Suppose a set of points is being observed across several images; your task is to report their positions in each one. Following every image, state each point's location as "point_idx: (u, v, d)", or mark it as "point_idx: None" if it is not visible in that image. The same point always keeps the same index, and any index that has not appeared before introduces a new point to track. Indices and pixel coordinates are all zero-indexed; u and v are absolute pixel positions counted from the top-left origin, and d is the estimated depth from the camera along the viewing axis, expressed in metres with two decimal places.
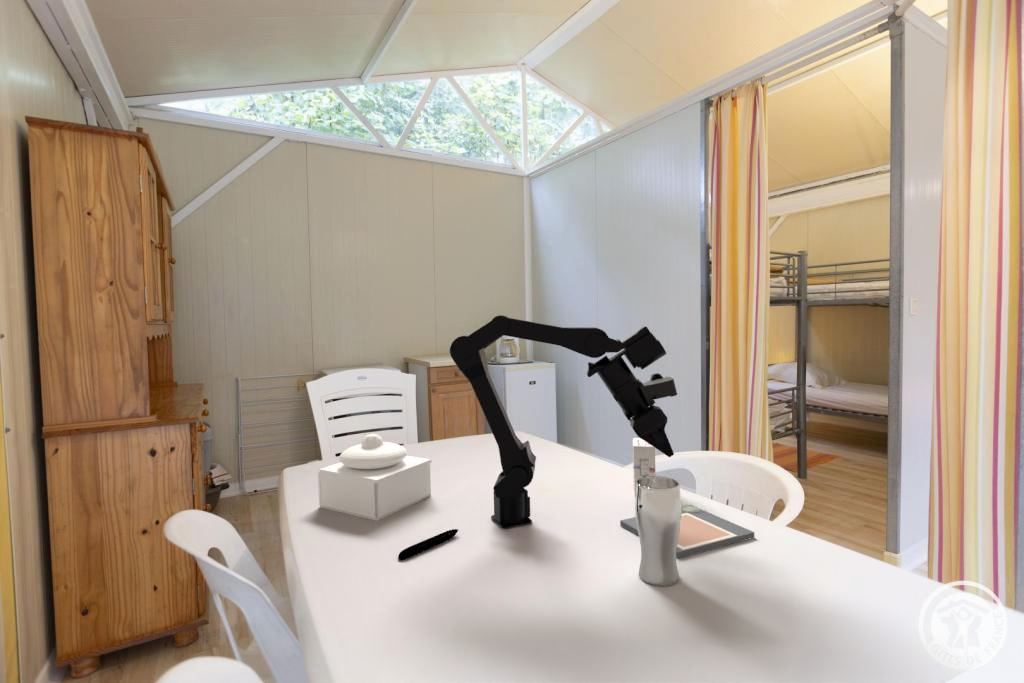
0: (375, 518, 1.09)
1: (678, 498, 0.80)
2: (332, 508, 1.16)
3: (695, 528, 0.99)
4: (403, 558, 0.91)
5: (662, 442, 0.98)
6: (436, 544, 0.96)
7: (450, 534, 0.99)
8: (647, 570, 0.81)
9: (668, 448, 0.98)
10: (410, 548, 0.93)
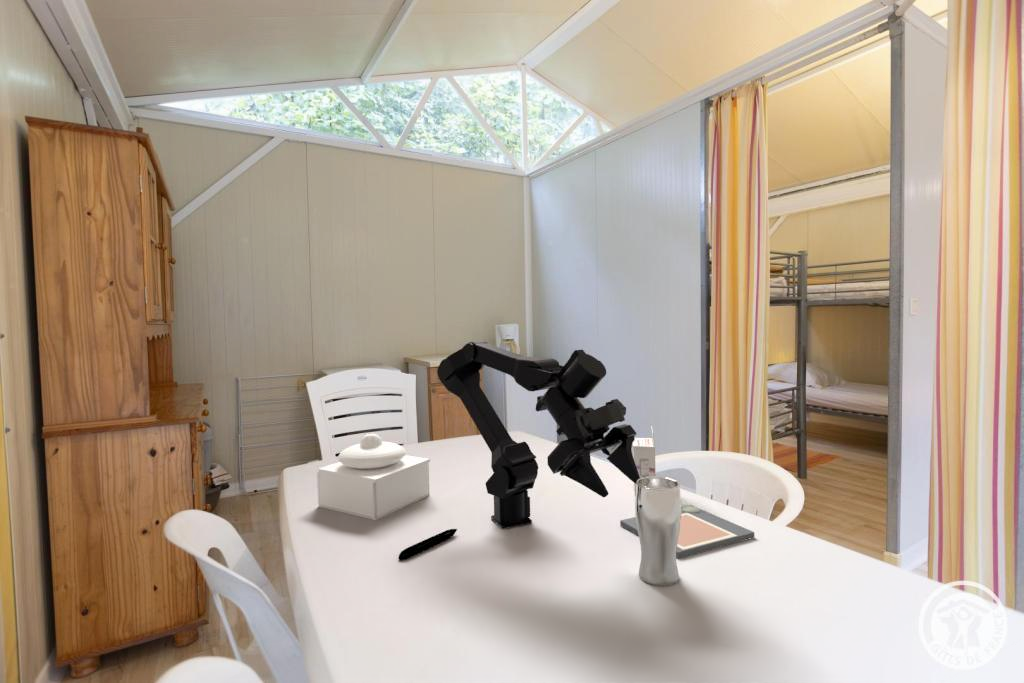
0: (374, 517, 1.10)
1: (678, 498, 0.80)
2: (331, 507, 1.16)
3: (695, 528, 0.99)
4: (403, 558, 0.91)
5: (589, 480, 0.85)
6: (436, 544, 0.96)
7: (449, 534, 0.99)
8: (647, 570, 0.81)
9: (598, 487, 0.84)
10: (410, 548, 0.93)
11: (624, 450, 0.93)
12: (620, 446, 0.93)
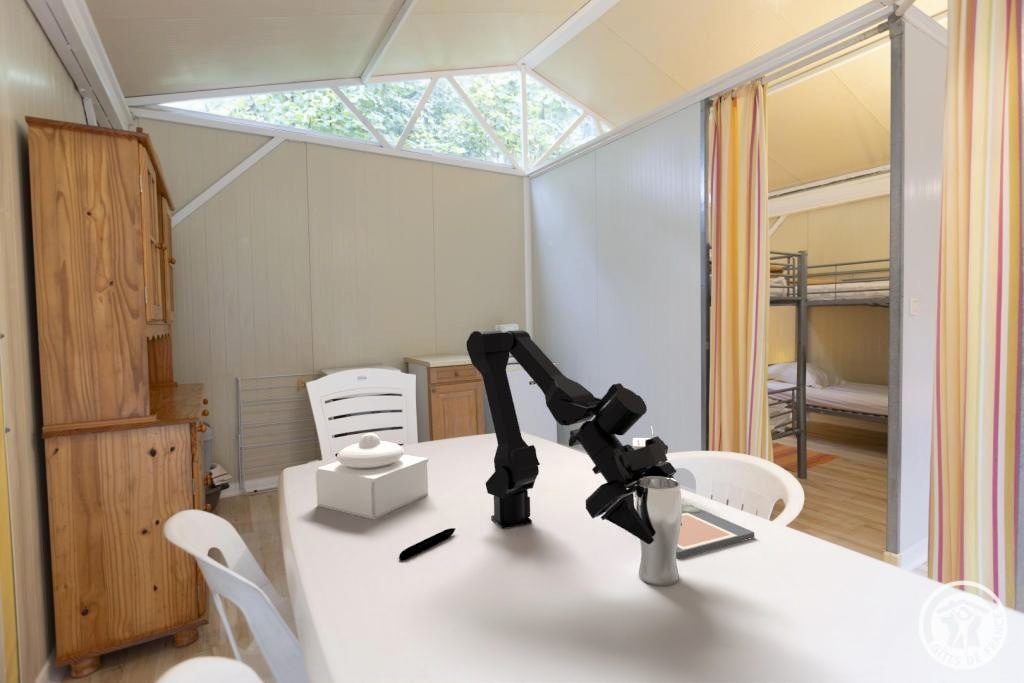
0: (372, 516, 1.10)
1: (678, 498, 0.80)
2: (330, 507, 1.17)
3: (695, 528, 0.99)
4: (404, 558, 0.91)
5: (633, 525, 0.80)
6: (435, 543, 0.97)
7: (448, 533, 0.99)
8: (647, 570, 0.81)
9: (643, 533, 0.79)
10: (410, 548, 0.93)
11: None
12: None
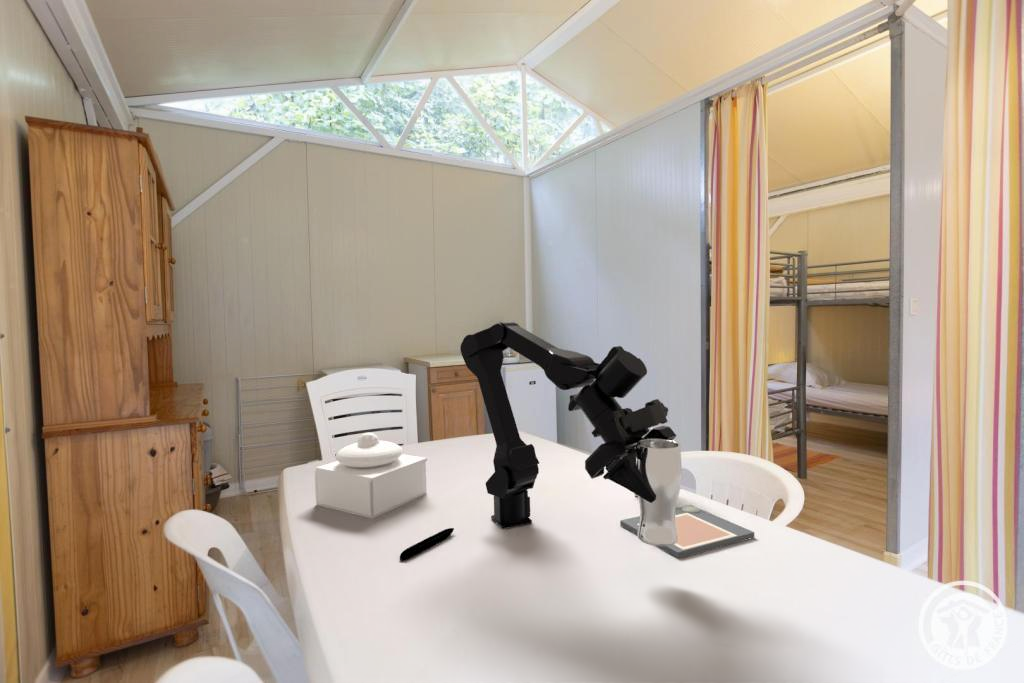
0: (370, 516, 1.11)
1: (678, 458, 0.80)
2: (328, 506, 1.17)
3: (695, 528, 0.99)
4: (405, 558, 0.91)
5: (635, 484, 0.80)
6: (435, 543, 0.97)
7: (447, 533, 0.99)
8: (646, 530, 0.81)
9: (645, 491, 0.80)
10: (411, 548, 0.93)
11: None
12: None
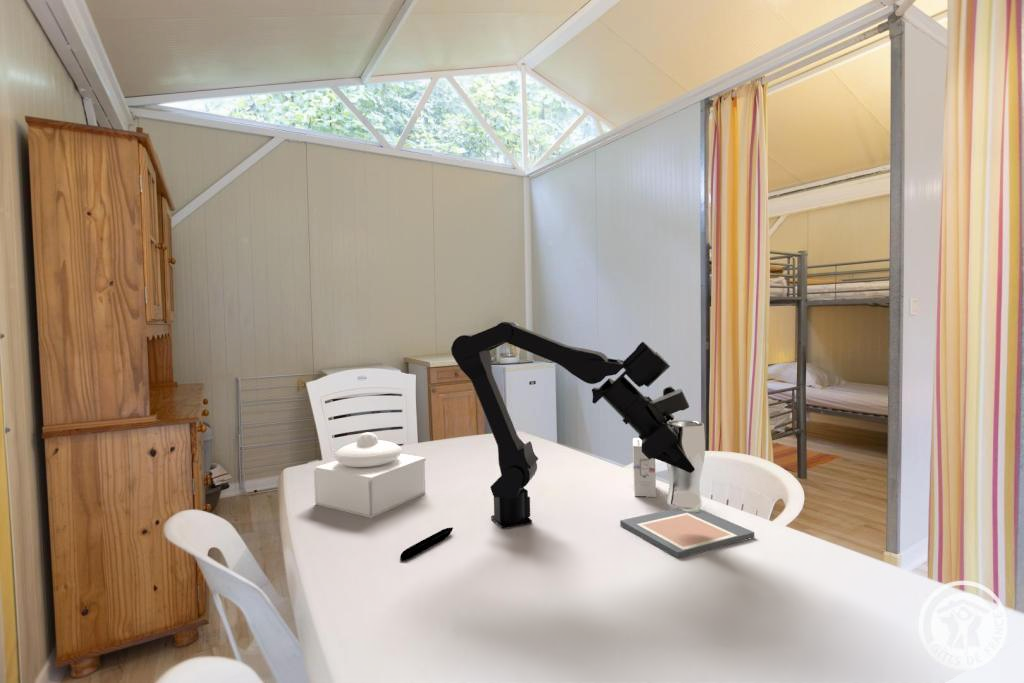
0: (369, 515, 1.11)
1: None
2: (328, 505, 1.18)
3: (695, 528, 0.99)
4: (405, 558, 0.91)
5: (679, 459, 0.93)
6: (434, 543, 0.97)
7: (446, 532, 1.00)
8: (683, 498, 0.95)
9: (687, 464, 0.94)
10: (411, 548, 0.92)
11: None
12: None
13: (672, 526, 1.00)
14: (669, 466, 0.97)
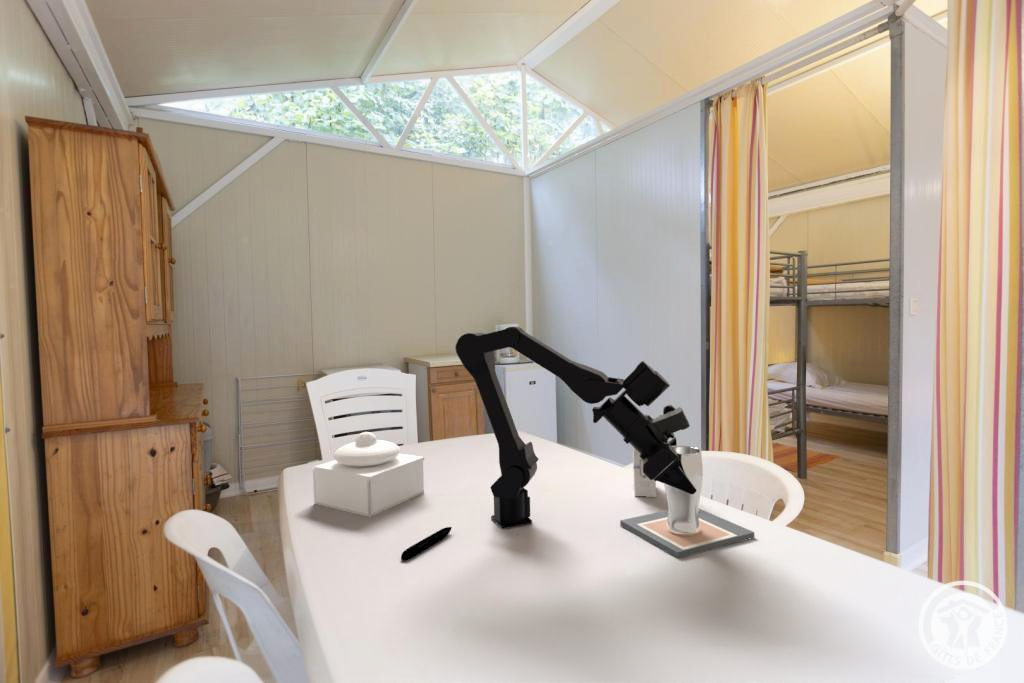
0: (368, 514, 1.12)
1: None
2: (326, 504, 1.18)
3: None
4: (406, 558, 0.91)
5: (680, 480, 0.93)
6: (434, 542, 0.97)
7: (445, 532, 1.00)
8: (681, 525, 0.96)
9: (688, 485, 0.93)
10: (412, 548, 0.92)
11: None
12: None
13: None
14: (667, 493, 0.97)
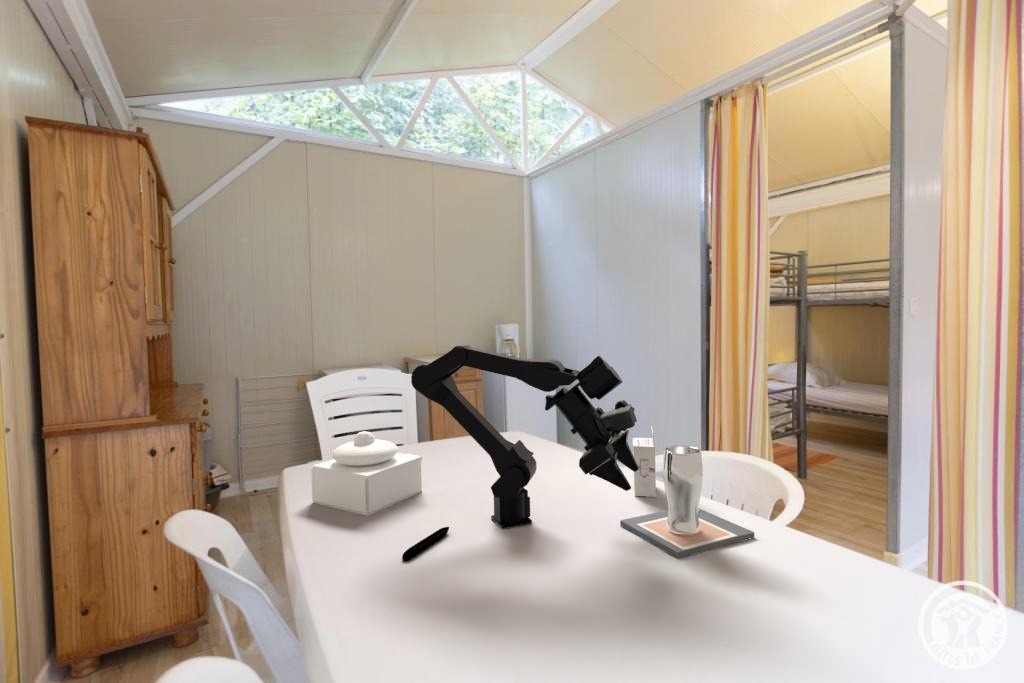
0: (366, 513, 1.12)
1: None
2: (325, 503, 1.19)
3: None
4: (408, 559, 0.91)
5: (616, 477, 0.96)
6: (433, 542, 0.97)
7: (444, 532, 1.00)
8: (681, 525, 0.96)
9: (623, 482, 0.96)
10: (412, 548, 0.92)
11: (624, 443, 1.06)
12: (619, 439, 1.06)
13: None
14: (667, 493, 0.97)
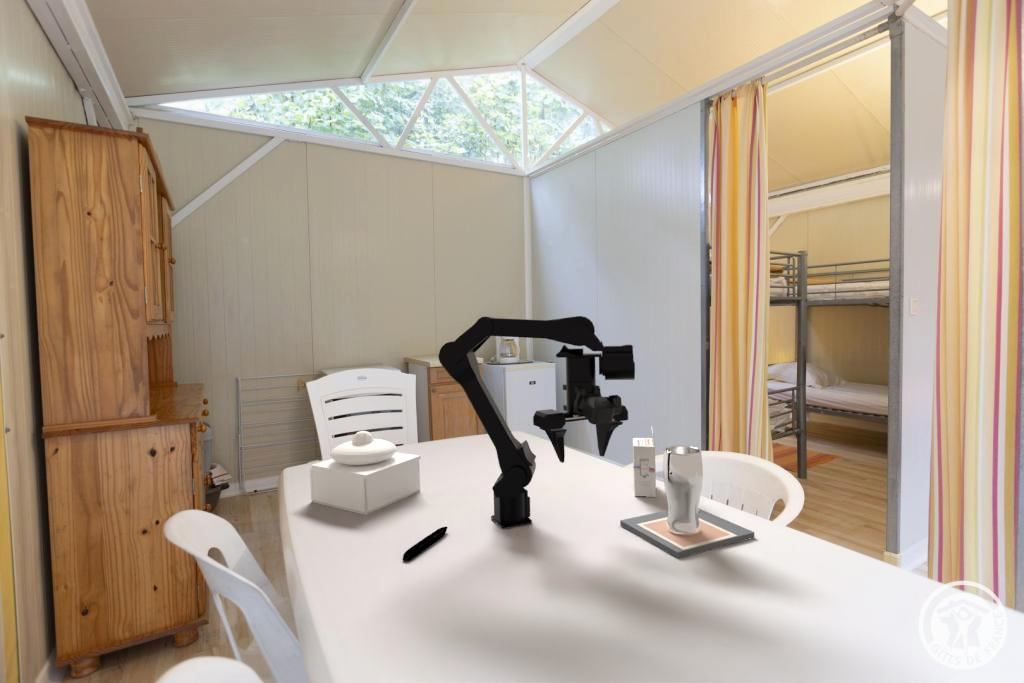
0: (364, 512, 1.13)
1: None
2: (323, 503, 1.19)
3: None
4: (408, 559, 0.91)
5: (556, 445, 1.02)
6: (433, 542, 0.97)
7: (443, 531, 1.00)
8: (681, 525, 0.96)
9: (559, 454, 1.02)
10: (413, 548, 0.92)
11: (606, 429, 1.05)
12: (606, 423, 1.05)
13: None
14: (667, 493, 0.97)
